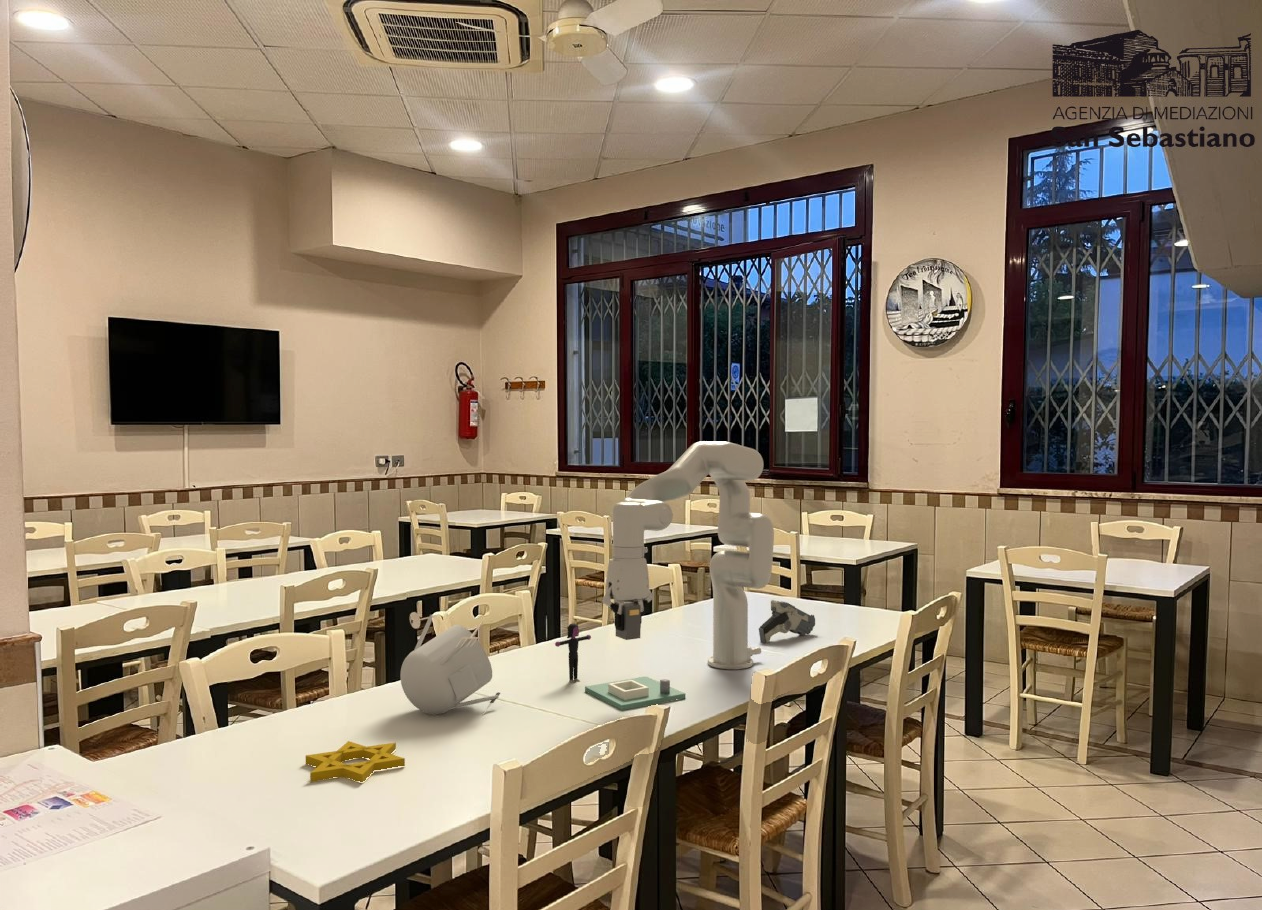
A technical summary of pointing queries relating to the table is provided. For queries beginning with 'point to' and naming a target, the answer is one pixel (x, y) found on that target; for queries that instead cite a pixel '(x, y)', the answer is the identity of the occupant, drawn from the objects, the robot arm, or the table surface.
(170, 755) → the table surface
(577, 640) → the figurine
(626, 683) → the board
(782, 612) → the toy gun
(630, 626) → the plug
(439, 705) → the satellite
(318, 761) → the star of david
